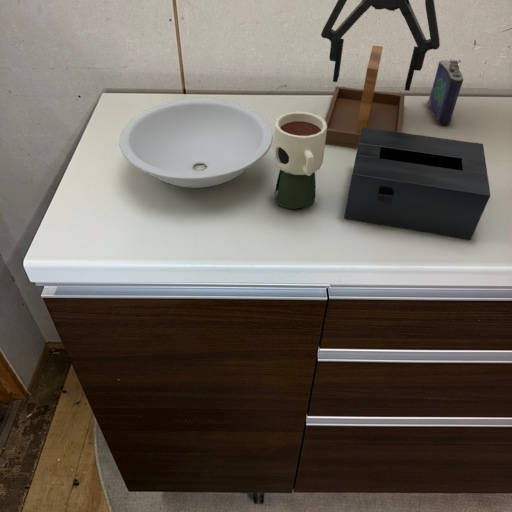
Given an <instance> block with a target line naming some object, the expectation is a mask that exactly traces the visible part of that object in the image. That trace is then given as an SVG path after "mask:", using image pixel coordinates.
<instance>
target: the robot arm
mask: <svg viewBox="0 0 512 512" xmlns="http://www.w3.org/2000/svg"><path fill="white" fill-rule="evenodd" d="M347 1H348V0H337V2H336V3H335V5H334V7H333V9H332V11H331V13H330V15H329V17H328V18H327V20H326V23H325V24H324V26H323V27H322V31H321V33H320V37H322V39H327V40H329V41H330V48H329V61H330V62H334V69H333V77H332V82H333V83H338V81H339V78H340V71H341V64H342V56H343V47H344V42H345V41H344V40H345V39H344V38H343V37H344V35H345V34H346V33H347V32H348V31H349V30H350V29H351V28H352V27H353V26H354V25H355V24H356V22H357V21H358V20H359V19H360V18H361V17H362V16H363V15H364V13H366V12H367V11H368V10H369V9H370V8H371V7H372V8H374V10H379V11H380V10H387V11H391V12H395V11H396V10H399V11H400V13H401V16H403V18H404V21H405V22H406V24H407V27H408V29H409V31H410V33H411V35H412V38H413V40H414V41H415V45H414V46H413V49H412V50H413V51H412V55H411V59H410V63H409V67H408V72H407V76H406V79H405V85H404V91H407V92H410V90H411V85H412V81H413V78H414V75H415V74H414V73H415V71H417V72H418V71H419V72H420V71H421V70H422V69H423V66H424V61H425V59H426V58H425V57H426V54H427V52H428V51H430V50H436V51H437V50H438V49H439V48H440V45H441V44H440V43H441V42H440V41H441V40H440V33H439V32H440V31H439V26H438V19H437V12H436V6H435V0H424V4H425V12H426V13H425V14H426V20H427V25H428V33H429V37H430V38H429V39H427V38H426V36H425V34H424V31H423V29H422V27H421V26H420V22H419V20H418V18H417V15H416V14H415V12H414V10H413V8H412V4H411V1H410V0H361V1H360V2H359V3H358V5H357V6H356V7H355V8H354V9H353V10H352V11H351V12H350V14H349V15H348V16H347V17H346V18H345V19H344V20H343V21H342V22H341V23H340V25H338V27H337V28H336V29H335V30H334V29H333V27H334V26H335V23H336V22H337V20H338V18H339V16H340V14H341V12H342V10H343V9H344V7H345V5H346V3H347Z"/></svg>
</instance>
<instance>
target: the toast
mask: <svg viewBox="0 0 512 512" xmlns="http://www.w3.org/2000/svg"><path fill="white" fill-rule="evenodd" d="M383 48H384V47H383V46H379V45H372V47H371V51H370V56H369V60H368V64H367V66H366V67H367V68H366V72H365V79H364V84H363V95H362V100H361V106H360V112H359V117H358V123H357V129H356V132H359V133H361V129H362V127H364V128H367V125H368V120H369V116H370V111H371V106H372V100H373V95H374V91H376V85H377V80H378V74H379V70H380V64H381V59H382V54H383Z"/></svg>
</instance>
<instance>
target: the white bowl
mask: <svg viewBox="0 0 512 512" xmlns="http://www.w3.org/2000/svg"><path fill="white" fill-rule="evenodd" d="M273 136H274V134H273V129H272V127H271V125H270V123H269V121H268V119H266V118H265V117H264V115H262V113H259V112H258V111H256V110H255V109H253V108H251V107H249V106H246V105H244V104H241V103H238V102H235V101H231V100H225V99H220V98H219V99H218V98H208V97H207V98H205V97H202V98H185V99H178V100H172V101H168V102H163V103H161V104H157V105H155V106H152V107H149V108H148V109H145V110H144V111H142V112H140V113H138V114H136V115H134V117H133V118H131V119H130V120H129V121H128V122H127V123H126V124H125V125H124V127H123V128H122V130H121V133H120V135H119V142H118V144H119V149H120V152H121V154H122V156H123V157H124V158H125V160H126V161H127V162H128V163H129V164H130V165H132V166H133V167H135V168H136V169H138V170H139V171H142V172H144V173H146V174H148V175H151V176H152V177H154V178H155V179H158V180H159V181H161V182H162V183H163V182H164V183H166V184H170V185H172V186H176V187H181V188H193V189H197V188H209V187H213V186H218V185H222V184H224V183H227V182H229V181H231V180H234V179H236V178H237V177H238V176H240V175H242V174H243V173H244V172H245V171H247V170H248V169H249V168H250V167H252V166H253V165H255V164H257V162H259V161H260V160H262V159H263V157H264V156H265V155H266V154H267V153H268V151H269V150H270V148H271V146H272V143H273V138H274V137H273ZM196 165H205V166H206V168H205V169H203V170H196V169H194V166H196Z"/></svg>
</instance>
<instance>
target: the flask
mask: <svg viewBox="0 0 512 512" xmlns="http://www.w3.org/2000/svg"><path fill="white" fill-rule="evenodd" d="M459 63H462V60H461V59H458V60H457V59H449V60H447V59H444V60H439V61H438V64H437V65H438V66H437V69H436V73H435V76H434V80H433V82H432V83H433V84H432V87H431V90H430V94H429V97H428V100H427V108H428V109H429V111H430V113H431V114H432V116H434V118H435V120H436V123H437V124H438V125H440V126H442V127H449V126H450V125H451V122H452V118H453V114H454V111H455V107H456V104H457V101H458V98H459V95H460V91H461V88H462V86H463V82H464V77H463V73H462V71H461V70H460V66H459V65H458V64H459Z"/></svg>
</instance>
